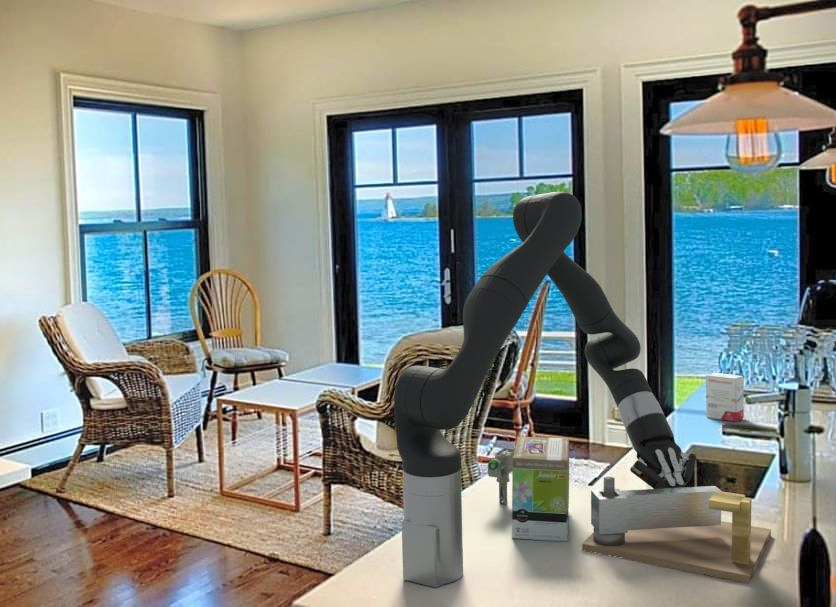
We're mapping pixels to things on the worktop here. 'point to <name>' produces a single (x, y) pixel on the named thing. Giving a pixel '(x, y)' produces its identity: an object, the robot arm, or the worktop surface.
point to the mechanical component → (502, 470)
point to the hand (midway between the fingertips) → (683, 508)
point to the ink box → (724, 397)
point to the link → (653, 509)
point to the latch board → (692, 541)
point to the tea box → (540, 489)
